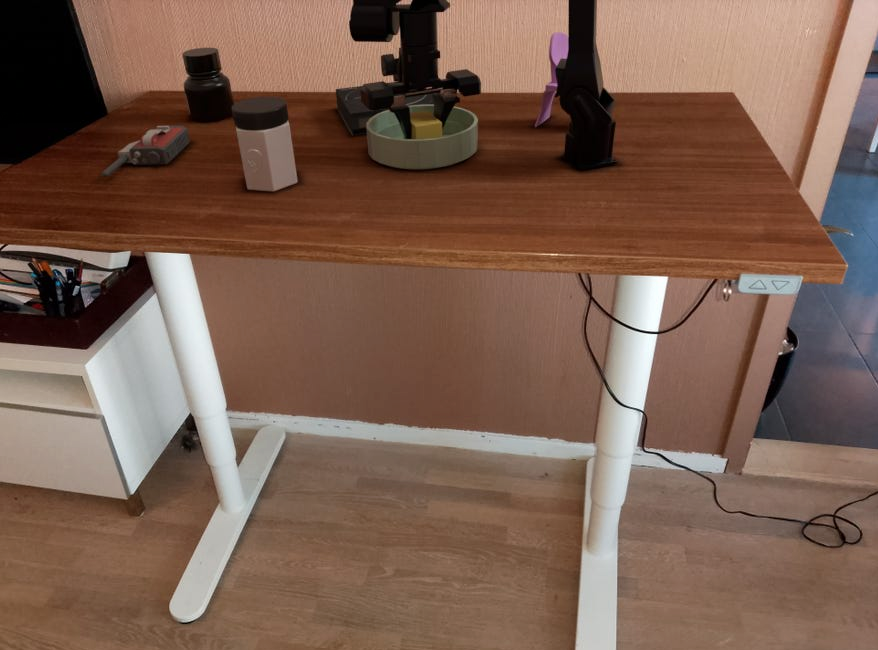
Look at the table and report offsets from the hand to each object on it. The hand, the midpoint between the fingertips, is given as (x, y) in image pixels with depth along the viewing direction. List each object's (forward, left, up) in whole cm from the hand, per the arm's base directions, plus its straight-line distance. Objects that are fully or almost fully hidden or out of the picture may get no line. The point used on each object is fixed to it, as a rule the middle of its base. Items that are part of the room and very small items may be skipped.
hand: (422, 142), depth 120 cm
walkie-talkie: (+44, -17, -2) cm, 47 cm away
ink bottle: (+31, -38, -2) cm, 49 cm away
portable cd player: (0, -20, -2) cm, 20 cm away
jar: (+26, +2, -2) cm, 26 cm away
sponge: (0, 0, -1) cm, 1 cm away
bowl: (0, 0, -2) cm, 2 cm away
